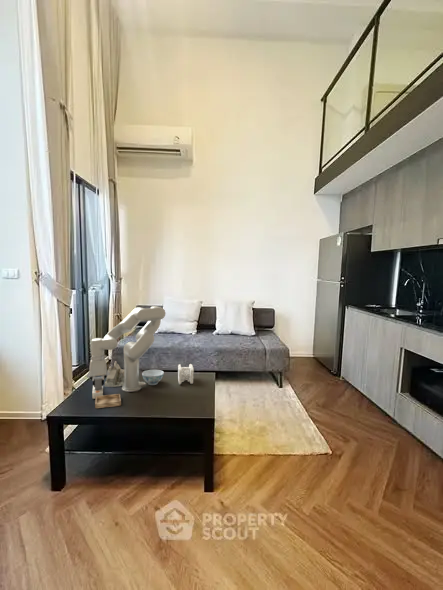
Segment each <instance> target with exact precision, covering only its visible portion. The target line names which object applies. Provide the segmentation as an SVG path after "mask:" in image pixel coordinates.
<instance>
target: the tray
mask: <svg viewBox="0 0 443 590" xmlns="http://www.w3.org/2000/svg"><path fill="white" fill-rule="evenodd" d="M120 406H122V399H121V393H114V394H106V395H104V394H103V396H96V399H95V400H94V408H95V409H101V408H102V409H103V408H109V407H110V408H111V407H120Z"/></svg>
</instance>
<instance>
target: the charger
mask: <svg viewBox="0 0 443 590" xmlns="http://www.w3.org/2000/svg"><path fill="white" fill-rule="evenodd" d="M100 389H102V376H96V377H95V390H100Z"/></svg>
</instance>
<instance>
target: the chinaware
mask: <svg viewBox="0 0 443 590" xmlns="http://www.w3.org/2000/svg"><path fill="white" fill-rule="evenodd" d="M164 374H165V372H164V371H163V370H160V369H149V370H144V371H143V372H141V375H142V378H143V381H144V382H146V384H147V385H150V386H155V385H158V383H159V382H160V381H161V380H162V379H163V377H164Z"/></svg>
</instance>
